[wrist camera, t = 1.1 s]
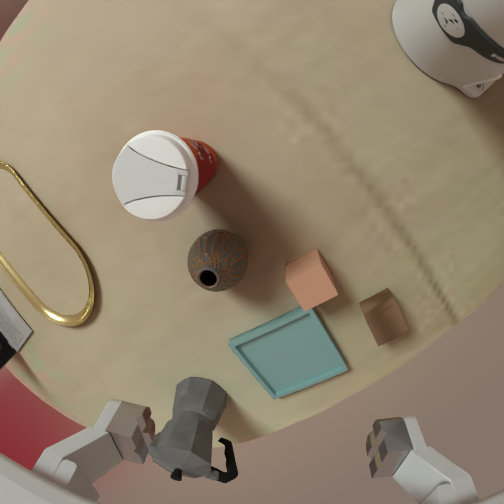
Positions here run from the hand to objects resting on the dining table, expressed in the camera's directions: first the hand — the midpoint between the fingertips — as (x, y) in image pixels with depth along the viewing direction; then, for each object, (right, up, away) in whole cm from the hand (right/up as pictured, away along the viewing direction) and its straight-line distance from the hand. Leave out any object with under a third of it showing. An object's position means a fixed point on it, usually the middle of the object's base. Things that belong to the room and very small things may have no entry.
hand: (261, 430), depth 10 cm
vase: (-4, +7, +30) cm, 31 cm away
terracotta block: (+7, +4, +30) cm, 31 cm away
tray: (+5, -9, +35) cm, 36 cm away
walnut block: (+17, -1, +31) cm, 36 cm away
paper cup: (-7, +17, +27) cm, 32 cm away
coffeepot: (-8, -19, +40) cm, 45 cm away
